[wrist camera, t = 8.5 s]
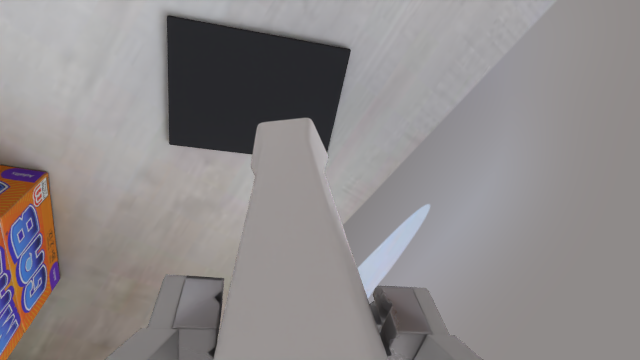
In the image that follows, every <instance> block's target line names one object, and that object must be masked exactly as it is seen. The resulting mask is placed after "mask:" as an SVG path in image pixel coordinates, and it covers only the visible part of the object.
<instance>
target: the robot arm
mask: <svg viewBox="0 0 640 360" xmlns="http://www.w3.org/2000/svg"><path fill="white" fill-rule="evenodd" d="M223 288H224V278H212V277H199V276H182V275H168V274H167V275H166V276H165V278H164V279H163V282H162V285H161V288H160V291H159V294H158V297H157V300H156V303H155V306H154V309H153V312H152V315H151V318H150V321H149V324H148V327H147V328H140V329H139V330H138V331H137V332H136V333H135V334H134V335H132V336H131V337H130V338H129V339H128V340H127V341H125V342H124V343H123V344H122V345H121V346H120V347H119V348H117V349H116V350H115V351H114V352H113V353H112V354H111V355H109V356H108V357H107V358H106V359H105V360H213V359H214V354H215V350H216V346H217V338H218V334H219V326H220V318H221V309H222V300H223V299H222V296H223ZM373 297H374V300H375V301H373V302H372V303H371V304H370V307H371V310H372V313H373V316H374V319H375V322H376V325H377V328H378V331H379V334H380V337H381V340H382V343H383V345H384V348H385V351H386V354H387V357H388V360H483V359H482V358H480V357H479V356H478V355H477V354H476V353H475V352H473V351H472V350H471V349H470V348H469V347H468V346H466V345H465V344H464V343H463V342H462V341H461V340H459V339H458V338H457V337H456V336H455V335H450V334H449V332H448V330H447V328H446V326H445V324H444V322H443V320H442V318H441V315H440V313H439V312H438V309H437V307H436V305H435V303H434V301H433V299H432V297H431V295H430V293H429V291H428V290H427V289H426V288H417V287H397V286H396V287H395V286H377V287H376V288H375V290H374V293H373Z"/></svg>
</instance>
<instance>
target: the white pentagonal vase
mask: <svg viewBox="0 0 640 360" xmlns="http://www.w3.org/2000/svg"><path fill="white" fill-rule="evenodd" d="M328 158H329V157H328V154H327V152H326V150H325V148H324V145H323V143H322V141H321V139H320V137H319V134H318V132H317V130H316V128H315V126H314V123H313V121H312V120H311V119H309V118H298V119H289V120H280V121H270V122H262V123H260V124H259V125H258V126H257V130H256V136H255V142H254V148H253V154H252V160H251V168H252V170H253V173H254V175H255V179H254V184H253V188H252V193H251V197H250V201H249V206H248V210H247V214H246V219H245V223H244V228H243V232H242V236H241V241H240V245H239V249H238V254H237V258H236V263H235V267H234V271H233V276H232V280H231V284H230V289H229V293H228V298H227V302H226V306H225V311H224V315H223V319H222V324H221V328H220V332H219V337H218V341H217V346H216V350H215V354H214V359H213V360H388V357H387V354H386V351H385V348H384V345H383V343H382V340H381V337H380V334H379V331H378V328H377V325H376V322H375V319H374V316H373V313H372V310H371V307H370V304H369V302H368V299H367V296H366V293H365V290H364V287H363V284H362V281H361V278H360V275H359V272H358V269H357V266H356V263H355V260H354V257H353V255H352V252H351V249H350V246H349V243H348V240H347V237H346V234H345V231H344V228H343V225H342V222H341V219H340V216H339V213H338V210H337V208H336V205H335V202H334V199H333V196H332V193H331V190H330V187H329V184H328V181H327V178H326V175H325V168H326V165H327V162H328Z"/></svg>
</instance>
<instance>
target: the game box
mask: <svg viewBox="0 0 640 360" xmlns="http://www.w3.org/2000/svg"><path fill="white" fill-rule="evenodd" d="M59 279H60V274H59V266H58V257H57V250H56V241H55V232H54V223H53V215H52V207H51V199H50V190H49V181H48V173H47V172H42V171H36V170H29V169H23V168H16V167H9V166H3V165H0V360H7V358H8V357H9V355H10V354H11V352H12V351H13V349H14V348H15V346H16V345H17V343H18V342H19V340H20V339H21V337H22V336H23V333H25V332H26V330H27V329H28V327H29V326H30V324H31V323H32V321H33V320H34V318H35V317H36V315H37V313H38V312H39V310H40V309H41V307H42V306H43V304H44V303H45V301H46V300H47V298H48V296H49V295H50V293H51V292H52V290H53V289H54V287H55V286H56V284H57V283H58V281H59Z"/></svg>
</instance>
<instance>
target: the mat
mask: <svg viewBox="0 0 640 360" xmlns="http://www.w3.org/2000/svg"><path fill="white" fill-rule="evenodd" d="M167 38H168V93H169V144H170V145H178V146H187V147H195V148H203V149H212V150H220V151H229V152H237V153H245V154H253V148H254V142H255V136H256V130H257V126H258V125H259V124H260V123H262V122H270V121H280V120H289V119H298V118H309V119H311V120H312V121H313V123H314V126H315V128H316V130H317V132H318V134H319V137H320V139H321V141H322V143H323V145H324V148H325V150H326V152H327V151H328V146H329V142H330V138H331V133H332V129H333V125H334V120H335V116H336V112H337V107H338V103H339V99H340V94H341V90H342V86H343V81H344V77H345V73H346V69H347V64H348V60H349V56H350V51H351V50H350V49H346V48H340V47H335V46H330V45H324V44H319V43H313V42H308V41H303V40H297V39H292V38H287V37H281V36H276V35H270V34H265V33H260V32H254V31H249V30H244V29H238V28H233V27H227V26H222V25H217V24H211V23H206V22H201V21H195V20H190V19H184V18H179V17H174V16H167Z"/></svg>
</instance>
